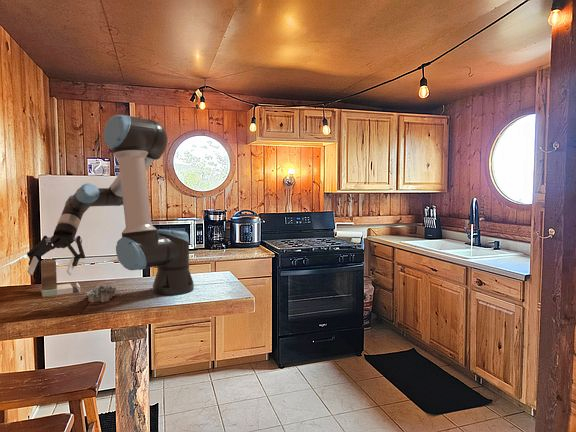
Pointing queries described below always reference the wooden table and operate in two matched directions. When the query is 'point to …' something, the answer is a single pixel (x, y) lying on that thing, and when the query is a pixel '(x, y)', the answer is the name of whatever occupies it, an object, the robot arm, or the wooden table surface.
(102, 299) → the egg carton
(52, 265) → the walnut block
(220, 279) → the wooden table surface
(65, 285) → the board
